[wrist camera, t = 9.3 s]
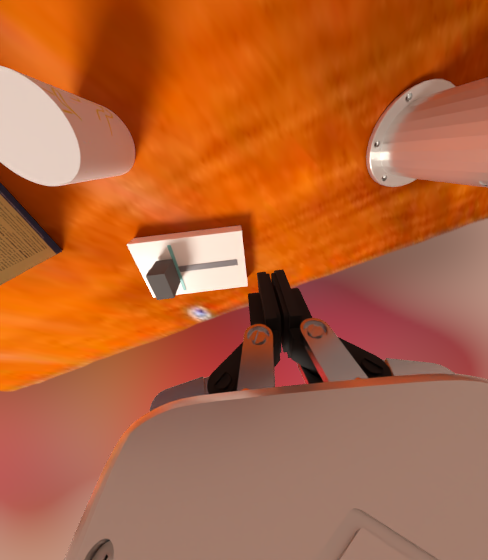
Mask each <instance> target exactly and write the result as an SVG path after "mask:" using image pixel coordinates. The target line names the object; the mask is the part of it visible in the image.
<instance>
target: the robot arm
mask: <svg viewBox="0 0 488 560" xmlns="http://www.w3.org/2000/svg"><path fill="white" fill-rule="evenodd" d="M366 161H367V168H368V172H369V174H370V176H371V178H372V179H373V180H374V181H375V182H377V183H379V184H380V185H384V186H390V187H397V186H402V185H405V184H408V183H410V182H412V181H414V180H416V179H423V180H431V181H439V182H448V183H456V184H464V185H473V186H481V187H488V77H486V78H483V79H479V80H476V81H473V82H470V83H466V84H463V85H460V86H455V85H454V84H452V83H451V82H450V81H447V80H445V79H431V80H427V81H424V82H421V83H419V84H416V85H414V86H412V87H411V88H409V89H407V90H406V91H404V92H403V93H402V94H401V95H399V96H398V97H397V98H396V99H395V100H394V101H393V102H392V103H391V104H390V105H389V106H388V107H387V109H386V110H385V111H384V113H383V114H382V115H381V117H380V119H379V120H378V122H377V124H376V126H375V127H374V130H373V132H372V134H371V137H370V140H369V144H368V147H367V155H366ZM257 277H258V288H259V293H250V294H248V299H249V310H250V322H251V326H250V327H249V328H247V330H246V331H245V334H244V341H243V343H242V344H241V345H240V346H239V347H238V348H237V349H236V350H235V351H234V352H233V353H232V354H231V355H230V356H229V357H228V358H227V359H226V360H225V361H224V362H223V363H222V364H221V365H220V366H219V367H218V368H217V369H216V370H215V371H214V372H213V373H212V374H211V375H210V376H209V377H207V378H203V377H200V378H198V379H195V380H192V381H189V382H186V383H183V384H180V385H177V386H174V387H171V388H169V389H166V390H164V391H162V392H160V393H159V394H158V395H157V396H156V397H155V398H154V400H153V402H152V404H151V407H150V412H148V413H147V414H145V415H143V416H142V417H141V418H139V419H138V420H136V421H135V422H134V423H133V424H132V425H131V426H129V427H128V429H127V430H126V431H125V432H124V434H123V435H122V436H121V437H120V439H119V440H118V442H117V444H116V445H115V447H114V449H113V451H112V453H111V455H110V456H109V458H108V460H107V462H106V465H105V467H104V469H103V471H102V473H101V475H100V477H99V479H98V482H97V484H96V486H95V488H94V490H93V493H92V495H91V497H90V500H89V502H88V504H87V506H86V509H85V511H84V514H83V516H82V518H81V521H80V523H79V525H78V527H77V530H76V532H75V535H74V537H73V539H72V542H71V544H70V547H69V549H68V552H67V554H66V557H65V559H64V560H488V379H483V378H479V377H474V376H468V375H459V374H455V373H453V372H452V371H451V370H449V369H448V368H446V367H443V366H441V365H438V364H434V363H426V362H417V361H408V360H398V359H389V358H386V360H382V359H380V358H378V357H377V356H375V355H373V354H371V353H369V352H367V351H365V350H363V349H361V348H359V347H357V346H355V345H353V344H351V343H349V342H347V341H345V340H343V339H341V338H339V337H337V336H336V334H335V333H334V332H333V330H332V329H331V328H330V327H329V325H328V324H327V323H326V322H324V321H323V320H320V319H317V318H312V316H311V314H310V312H309V310H308V307H307V305H306V303H305V301H304V299H303V297H302V295H301V292H300V291H299V289H298V288H293V289H291V288H290V285H289V283H288V280H287V278H286V275H285V273H284V271H283V270H276V271H274V273H271V279H272V282H271V279H270V275H269V274H266V272H259V273H257ZM281 343H282V347H283V351H284V352H287V354H288V358H292V360H294V361H295V362H297V365H298V368H299V370H300V372H301V374H302V377H303V379H304V381H305V384H303V385H293V386H283V387H275V377H274V367H275V366H276V365H277V363H278V362H279V361H280V353H281Z"/></svg>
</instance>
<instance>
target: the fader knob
mask: <svg viewBox="0 0 488 560" xmlns="http://www.w3.org/2000/svg"><path fill="white" fill-rule="evenodd" d="M146 278H147V280H148V282H149V284H150V286H151V288H152V290H153V292H154V294H155V296H156V298H157V300H160V299H169V298H174V297H175V295H176V292H177V290H178V287H179V284H180V282H181V281H180V278H179V276H178V273H177V270H176V267H175V265H174V262H173V259H168V260H160V261H156V262H155V263H154V265H153V266H152V267H151V269H150V270H149V272H148V273H147V275H146Z"/></svg>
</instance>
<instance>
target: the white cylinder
mask: <svg viewBox="0 0 488 560" xmlns="http://www.w3.org/2000/svg"><path fill="white" fill-rule="evenodd" d="M134 161H135V145H134V142H133V139H132V136H131V134H130V132H129V130H128V128H127V127H126V125H125V124H124V123H123V121H122V120H121V119H120V118H119V117H118V116H117V115H116V114H115V113H113V112H112V111H111V110H109V109H108V108H106V107H104V106H102V105H99V104H97V103H94V102H92V101H89V100H87V99H84V98H82V97H79V96H77V95H74V94H72V93H69V92H67V91H64V90H62V89H59V88H57V87H54V86H52V85H49V84H47V83H44V82H42V81H39V80H37V79H34V78H32V77H29V76H27V75H24V74H22V73H19V72H17V71H14V70H12V69H9V68H6V67H3V66H0V162H1V163H2V164H3V165H5V166H6V167H7V168H9V169H10V170H11V171H13V172H14V173H16V174H18V175H19V176H21V177H23V178H25V179H27V180H29V181H32V182H34V183H37V184H41V185H45V186H61V185H67V184H73V183H79V182H84V181H90V180H96V179H102V178H107V177H113V176H119V175H123V174H125V173H127V172H128V171H129V170H130V169H131V168H132V166H133V164H134Z"/></svg>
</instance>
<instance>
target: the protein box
mask: <svg viewBox="0 0 488 560" xmlns="http://www.w3.org/2000/svg"><path fill="white" fill-rule="evenodd" d="M60 252H62V250H61V249H60V247H59V246H58V245H57V244H56V243H55V242H54V241H53V240H52V239H51V238H50V237H49V235H48V234H47V233H46V232H45V231H44V230H43V229H42V228H41V227H40V226H39V224H38V223H37V222H36V221H35V220H34V219H33V218H32V217H31V216H30V215H29V213H28V212H27V211H26V210H25V209H24V208H23V207H22V206H21V205H20V204H19V203H18V201H17V200H16V199H15V198H14V197H13V196H12V195H11V194H10V193H9V192H8V190H7V189H6V188H5V187H4V186H3V185H2V184H1V183H0V285H1V284H3V283H5V282H7V281H9V280H10V279H12V278H14V277H16V276H18V275H19V274H21V273H23V272H25V271H26V270H28V269H30V268H32V267H34V266H36V265H37V264H39V263H41V262H43V261H45V260H46V259H48V258H50V257H52V256H54V255H56V254H58V253H60Z"/></svg>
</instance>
